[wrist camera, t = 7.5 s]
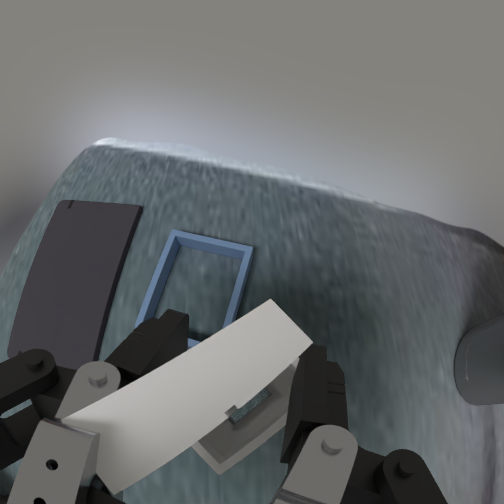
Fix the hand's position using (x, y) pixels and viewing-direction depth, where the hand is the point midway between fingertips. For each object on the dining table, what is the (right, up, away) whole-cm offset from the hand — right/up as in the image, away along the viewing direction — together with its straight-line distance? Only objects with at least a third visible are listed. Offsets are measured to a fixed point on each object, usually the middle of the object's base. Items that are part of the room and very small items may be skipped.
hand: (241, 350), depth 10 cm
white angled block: (0, -4, +3) cm, 5 cm away
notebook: (-20, -1, +19) cm, 27 cm away
